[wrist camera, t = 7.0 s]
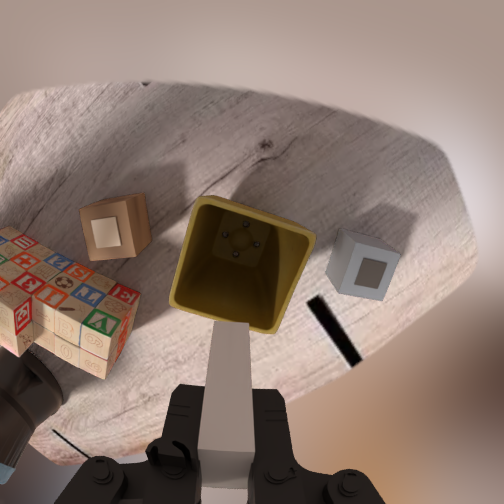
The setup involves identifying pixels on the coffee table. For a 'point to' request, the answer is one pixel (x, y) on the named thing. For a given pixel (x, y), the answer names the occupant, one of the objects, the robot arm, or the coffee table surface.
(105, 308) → the stack of blocks
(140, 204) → the walnut cube marked
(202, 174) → the coffee table surface
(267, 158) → the coffee table surface
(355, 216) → the coffee table surface
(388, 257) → the grey cube marked
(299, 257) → the flower pot
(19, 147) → the coffee table surface
